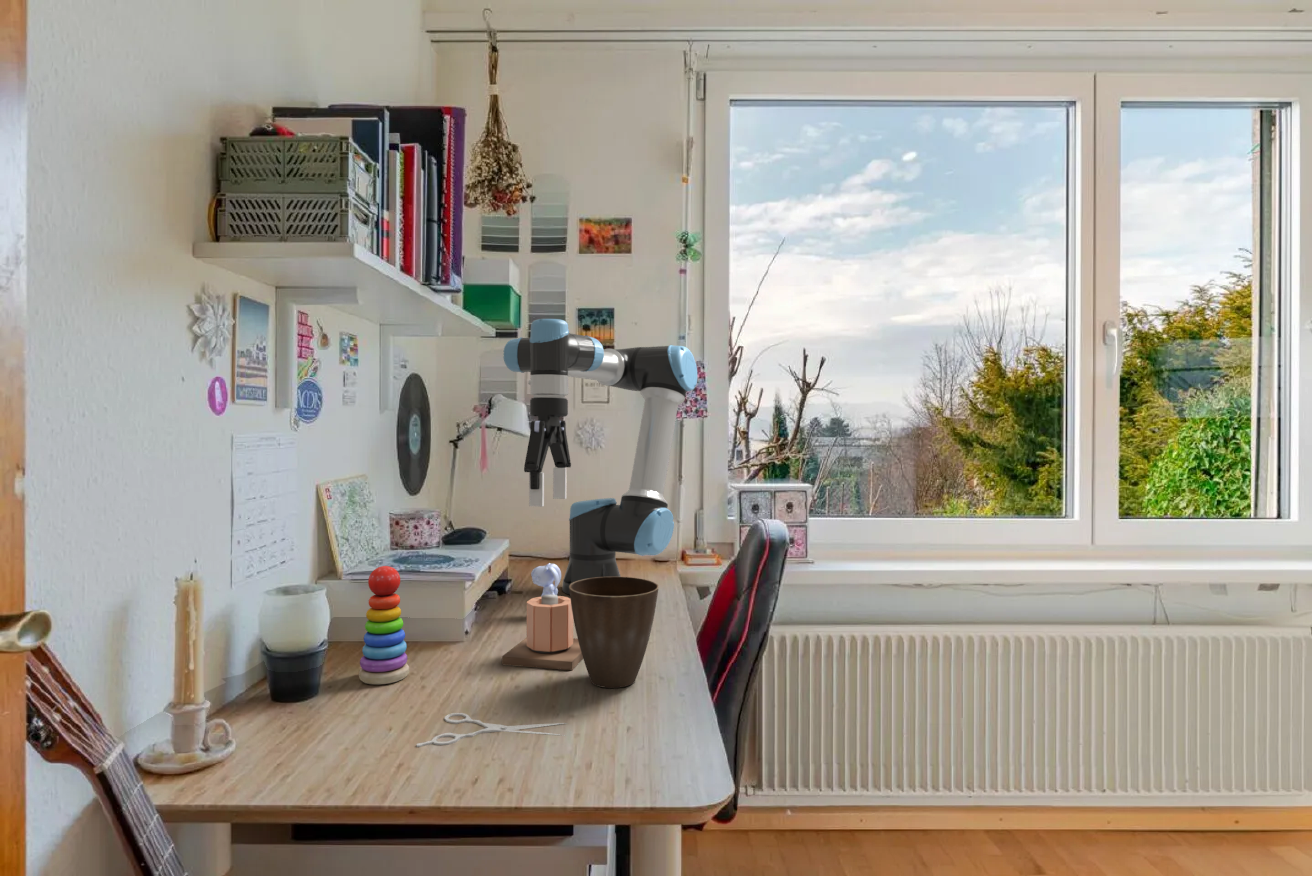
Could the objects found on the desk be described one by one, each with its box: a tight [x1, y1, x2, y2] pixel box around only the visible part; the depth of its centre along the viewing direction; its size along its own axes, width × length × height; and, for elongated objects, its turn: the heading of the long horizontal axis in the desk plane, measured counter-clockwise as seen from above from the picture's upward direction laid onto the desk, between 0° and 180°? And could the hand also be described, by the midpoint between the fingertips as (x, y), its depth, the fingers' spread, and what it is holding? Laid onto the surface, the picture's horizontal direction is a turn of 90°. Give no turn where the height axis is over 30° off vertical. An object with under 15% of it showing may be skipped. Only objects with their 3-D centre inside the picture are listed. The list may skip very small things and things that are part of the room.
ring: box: [526, 595, 574, 652], centre depth 135 cm, size 8×8×8 cm
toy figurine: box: [530, 562, 562, 597], centre depth 162 cm, size 7×6×12 cm
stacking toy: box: [358, 565, 410, 685], centre depth 123 cm, size 8×8×19 cm
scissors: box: [416, 712, 568, 748], centre depth 103 cm, size 11×1×20 cm
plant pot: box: [569, 576, 659, 689], centre depth 123 cm, size 15×15×16 cm
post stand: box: [501, 594, 584, 671], centre depth 135 cm, size 13×13×11 cm
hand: (548, 502), depth 148 cm, fingers open, 13 cm apart
